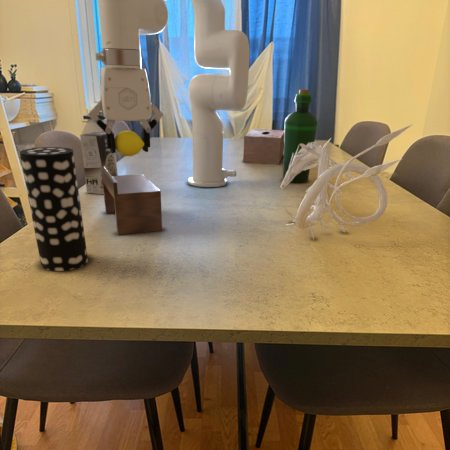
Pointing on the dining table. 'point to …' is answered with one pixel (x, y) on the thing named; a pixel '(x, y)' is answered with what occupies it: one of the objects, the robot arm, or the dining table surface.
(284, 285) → the dining table surface
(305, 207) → the serpentine dragon sculpture
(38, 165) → the spotted tube
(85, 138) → the coffee box
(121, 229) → the shelf
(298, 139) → the bottle
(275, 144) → the tissue box cover
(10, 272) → the dining table surface
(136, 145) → the lemon
